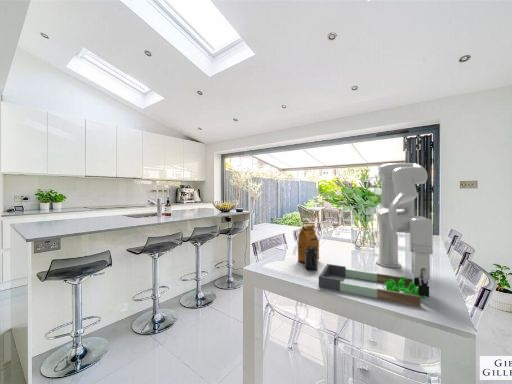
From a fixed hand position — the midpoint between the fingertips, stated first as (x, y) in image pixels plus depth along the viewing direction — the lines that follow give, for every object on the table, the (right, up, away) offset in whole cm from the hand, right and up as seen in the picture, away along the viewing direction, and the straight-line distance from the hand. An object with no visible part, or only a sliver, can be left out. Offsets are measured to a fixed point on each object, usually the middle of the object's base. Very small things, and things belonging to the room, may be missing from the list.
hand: (421, 291), depth 90 cm
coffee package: (-34, -3, +47) cm, 58 cm away
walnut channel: (-7, -2, +4) cm, 9 cm away
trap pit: (-30, -2, +17) cm, 34 cm away
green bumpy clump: (-5, -3, +3) cm, 6 cm away
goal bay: (-20, -2, +11) cm, 23 cm away
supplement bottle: (-36, -3, +34) cm, 49 cm away
